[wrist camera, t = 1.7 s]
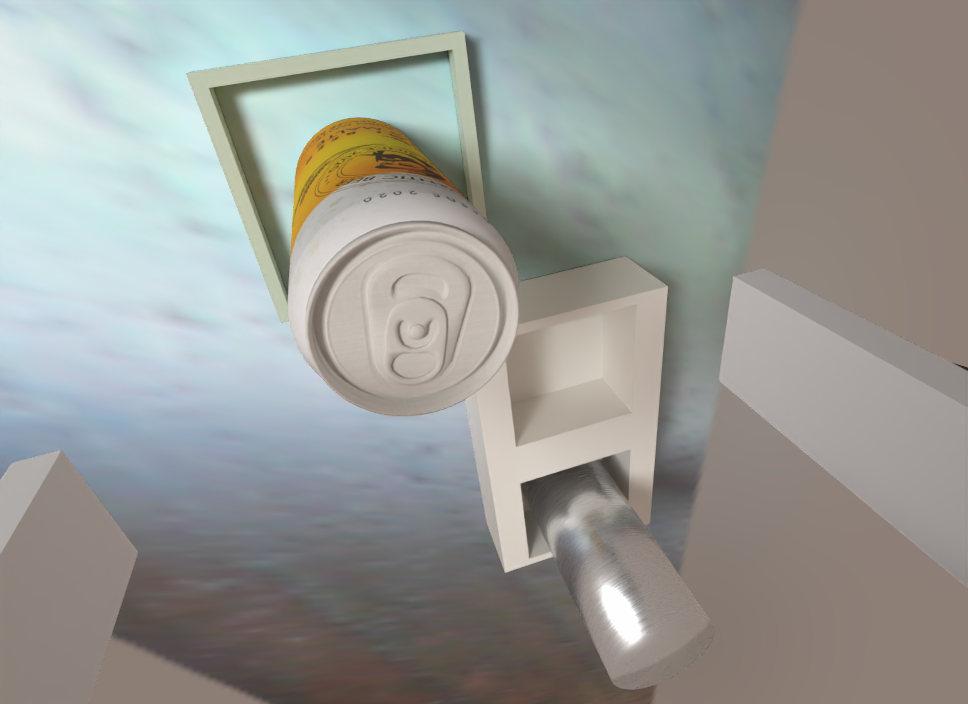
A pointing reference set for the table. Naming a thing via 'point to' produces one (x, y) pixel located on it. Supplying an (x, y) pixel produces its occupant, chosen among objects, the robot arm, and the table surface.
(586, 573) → the shiny metal cylinder
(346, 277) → the beer can
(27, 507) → the robot arm
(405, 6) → the table surface
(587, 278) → the dock
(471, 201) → the empty picture frame
